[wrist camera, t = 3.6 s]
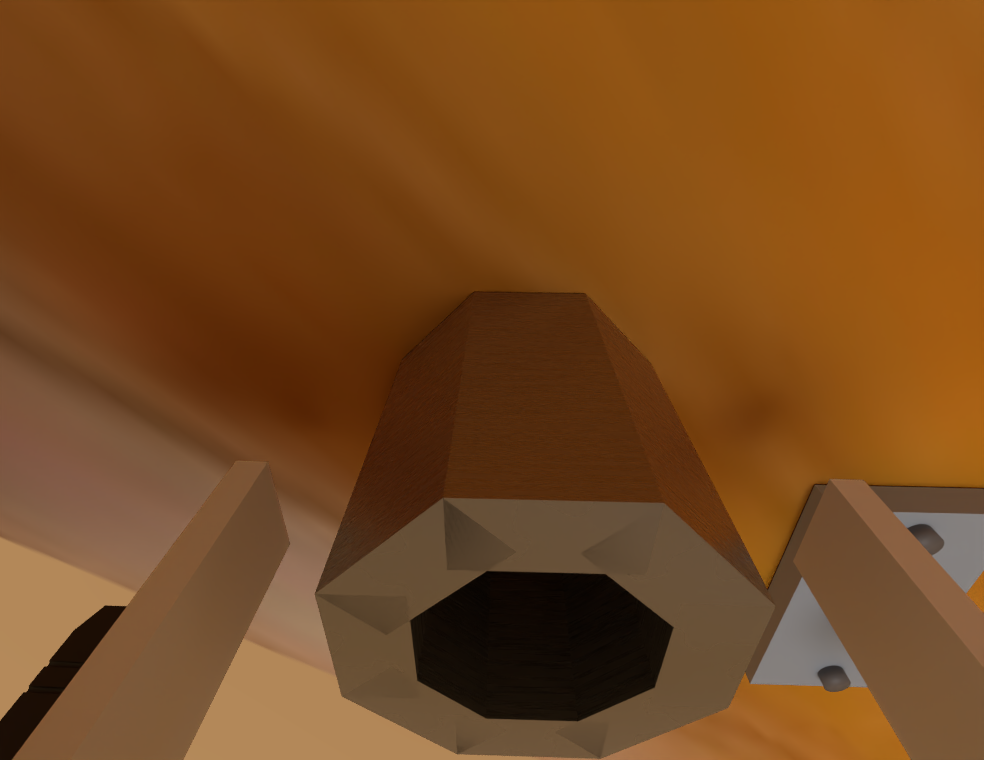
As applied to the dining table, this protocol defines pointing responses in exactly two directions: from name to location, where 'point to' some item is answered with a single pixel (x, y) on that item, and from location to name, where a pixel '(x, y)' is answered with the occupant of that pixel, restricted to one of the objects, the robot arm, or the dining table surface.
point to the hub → (537, 545)
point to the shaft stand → (800, 620)
